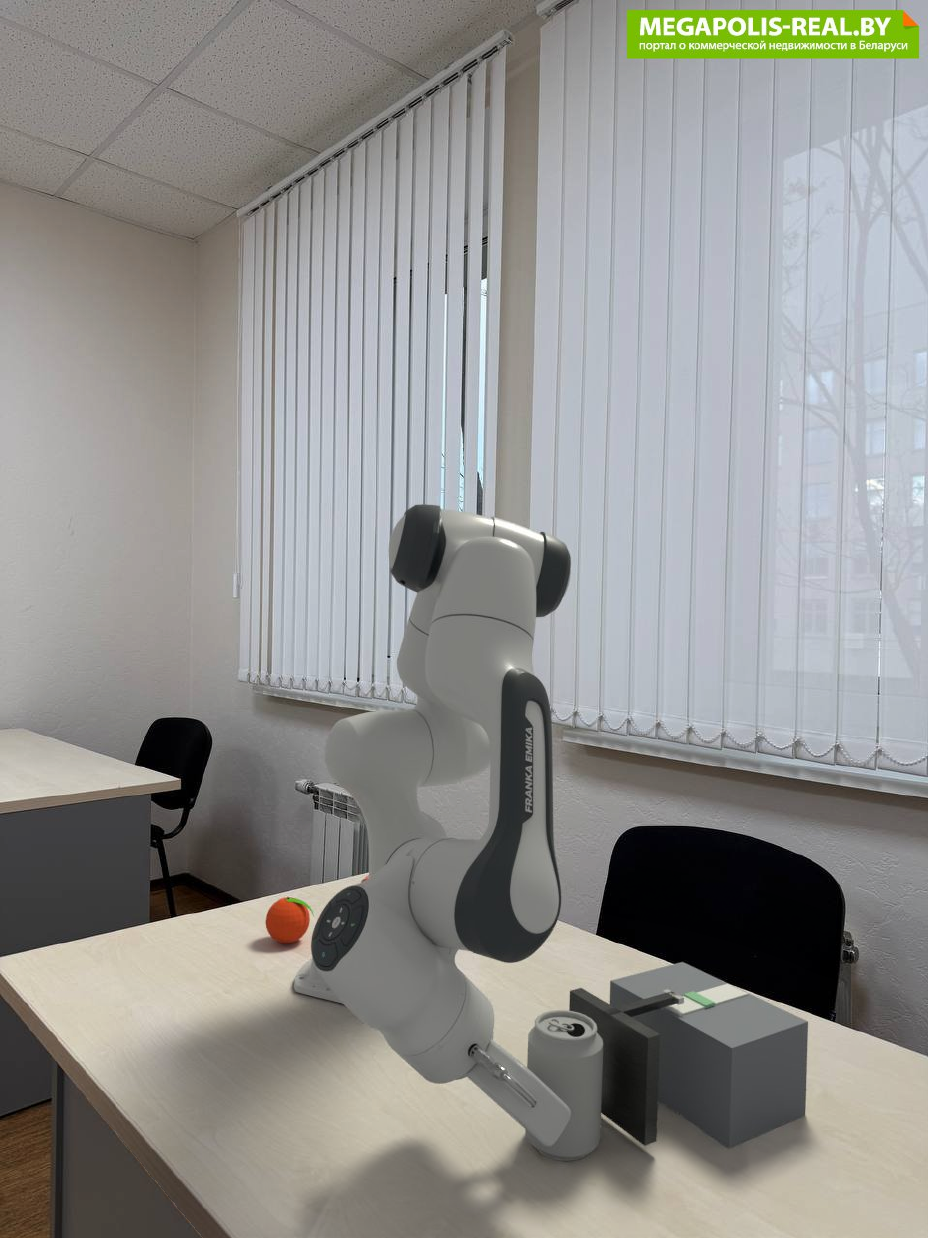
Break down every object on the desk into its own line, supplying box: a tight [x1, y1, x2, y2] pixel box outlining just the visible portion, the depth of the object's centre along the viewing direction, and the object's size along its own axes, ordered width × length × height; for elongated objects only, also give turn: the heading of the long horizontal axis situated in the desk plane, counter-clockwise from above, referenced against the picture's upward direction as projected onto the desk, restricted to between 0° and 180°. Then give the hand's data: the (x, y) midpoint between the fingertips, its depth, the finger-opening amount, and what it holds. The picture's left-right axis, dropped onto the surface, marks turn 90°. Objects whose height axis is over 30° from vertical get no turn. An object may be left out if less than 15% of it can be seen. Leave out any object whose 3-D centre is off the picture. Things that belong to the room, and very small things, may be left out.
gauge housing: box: [609, 961, 809, 1149], centre depth 95 cm, size 12×18×10 cm, turn 32°
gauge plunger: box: [568, 987, 684, 1147], centre depth 90 cm, size 10×12×10 cm
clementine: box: [265, 896, 315, 944], centre depth 135 cm, size 8×7×7 cm
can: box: [524, 1009, 603, 1162], centre depth 85 cm, size 8×8×12 cm
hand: (527, 1105), depth 82 cm, fingers closed, pressing on can
